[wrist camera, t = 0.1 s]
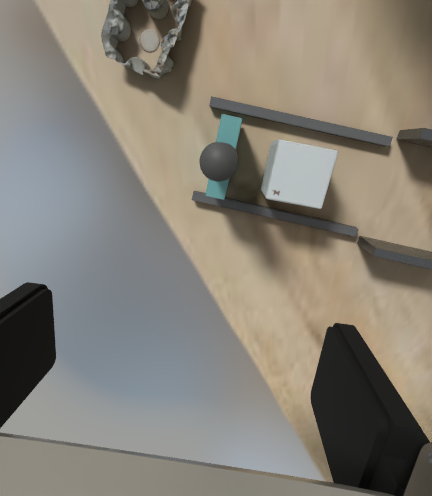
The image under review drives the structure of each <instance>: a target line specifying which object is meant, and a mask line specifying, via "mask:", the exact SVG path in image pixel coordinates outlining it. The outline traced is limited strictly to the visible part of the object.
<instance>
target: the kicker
mask: <svg viewBox="0 0 432 496" xmlns="http://www.w3.org/2000/svg"><path fill="white" fill-rule="evenodd" d="M241 124H242V118H238V117H234V116H230V115H225V114H222V115H221V120H220V125H219V130H218V135H217V140H216V142H214V143H211V144H209V145H208V146H207V147H206V148H205V149H204V150H203V151H202V153H201V156H200V167H201V170H202V172H203V174H204V175H205V176H206V177H207V178H209V180H208V185H207V190H206V195H205V196H209V197H214V198H218V199H223V200H224V199H225V195H226V191H227V187H228V183H229V178H230V177H231V176H233V174H234V173H235V171H236V169H237V165H238V154H237V151H236V147H237V142H238V138H239V133H240V129H241Z"/></svg>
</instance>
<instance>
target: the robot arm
mask: <svg viewBox="0 0 432 496" xmlns="http://www.w3.org/2000/svg"><path fill="white" fill-rule="evenodd" d="M55 359H56V350H55V332H54V317H53V302H52V292H51V290H49V289H48V288H47V286H46V285H43V284H36V283H25V284H23V285H22V286H20V287H19V288H17V289H15V290H14V291H12V292H10V293H9V294H7V295H6V296H4V297H3V298H1V299H0V428H1V427H2V426H3V424H4V423H5V422H6V421H7V420H8V419H9V417H10V416H11V415H12V414H13V413H14V411H15V410H16V409H17V408H18V407H19V406H20V404H21V403H22V402H23V401H24V400H25V399H26V397H27V396H28V395H29V394H30V393H31V392H32V390H33V389H34V388H35V387H36V386H37V384H38V383H39V382H40V381H41V380H42V378H43V377H44V376H45V375H46V374H47V372H49V370H50V369H51V368H52V366H53V365H54V363H55ZM311 404H312V408H313V411H314V415H315V418H316V422H317V425H318V429H319V432H320V436H321V439H322V443H323V446H324V450H325V454H326V457H327V461H328V464H329V468H330V471H331V475H332V478H333V482H334V483H331V482H325V481H318V480H312V479H306V478H300V477H294V476H289V475H282V474H276V473H269V472H262V471H256V470H250V469H243V468H237V467H230V466H224V465H218V464H211V463H205V462H198V461H191V460H185V459H178V458H172V457H164V456H158V455H151V454H145V453H138V452H131V451H125V450H118V449H111V448H104V447H97V446H91V445H83V444H77V443H70V442H63V441H56V440H49V439H41V438H34V437H28V436H21V435H13V434H7V433H0V496H432V442H431V443H430V441H429V440H428V438H427V437H426V435H425V434H424V432H423V431H422V429H421V427H420V426H419V424H418V423H417V421H416V420H415V418H414V417H413V415H412V413H411V412H410V410H409V409H408V407H407V406H406V404H405V403H404V401H403V400H402V398H401V397H400V395H399V393H398V392H397V390H396V389H395V387H394V386H393V384H392V383H391V381H390V380H389V378H388V377H387V375H386V373H385V372H384V370H383V369H382V367H381V366H380V364H379V363H378V361H377V360H376V358H375V357H374V355H373V353H372V352H371V350H370V349H369V347H368V346H367V344H366V343H365V341H364V340H363V338H362V337H361V335H360V333H359V332H358V330H357V329H356V327H355V326H354V325H347V324H340V323H335V324H334V325H333V327H328V329H327V332H326V335H325V339H324V343H323V347H322V351H321V355H320V359H319V363H318V367H317V371H316V375H315V379H314V382H313V386H312V390H311Z"/></svg>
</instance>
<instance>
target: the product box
mask: <svg viewBox="0 0 432 496" xmlns="http://www.w3.org/2000/svg"><path fill="white" fill-rule="evenodd" d="M337 154H338V151H336V150H332V149H327V148H323V147H318V146H313V145H308V144H303V143H297V142H292V141H286V140H282V139H279V140H275V141H272V142H271V145H270V149H269V154H268V158H267V162H266V167H265V172H264V176H263V181H262V187H261V191H262V192H263V194H264V196H265V197H266V199H269V200H274V201H280V202H285V203H290V204H295V205H301V206H306V207H312V208H318V209H321V208H322V206H323V202H324V199H325V196H326V193H327V189H328V186H329V182H330V179H331V176H332V172H333V169H334V165H335V162H336V158H337Z"/></svg>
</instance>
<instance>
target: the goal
mask: <svg viewBox="0 0 432 496" xmlns="http://www.w3.org/2000/svg"><path fill="white" fill-rule="evenodd" d="M397 139H398V140H402V141H406V142H411V143H415V144H420V145H424V146H429V147H432V130H431V129H427V128H419V129H408V130H400V131H399V134H398V137H397ZM357 243H358V244H359V245H360V246H361V247H363V248H364V249H365V250H366V251H367V252H369V253H370V254H371V255H372V256H375V257H379V258H384V259H388V260H393V261H397V262H402V263H406V264H411V265H415V266H419V267H424V268H428V269H432V252H430V251H425V250H421V249H416V248H412V247H407V246H403V245H399V244H394V243H390V242H385V241H381V240H376V239H372V238H367V237H363V236H360V237H359V239H358V242H357Z"/></svg>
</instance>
